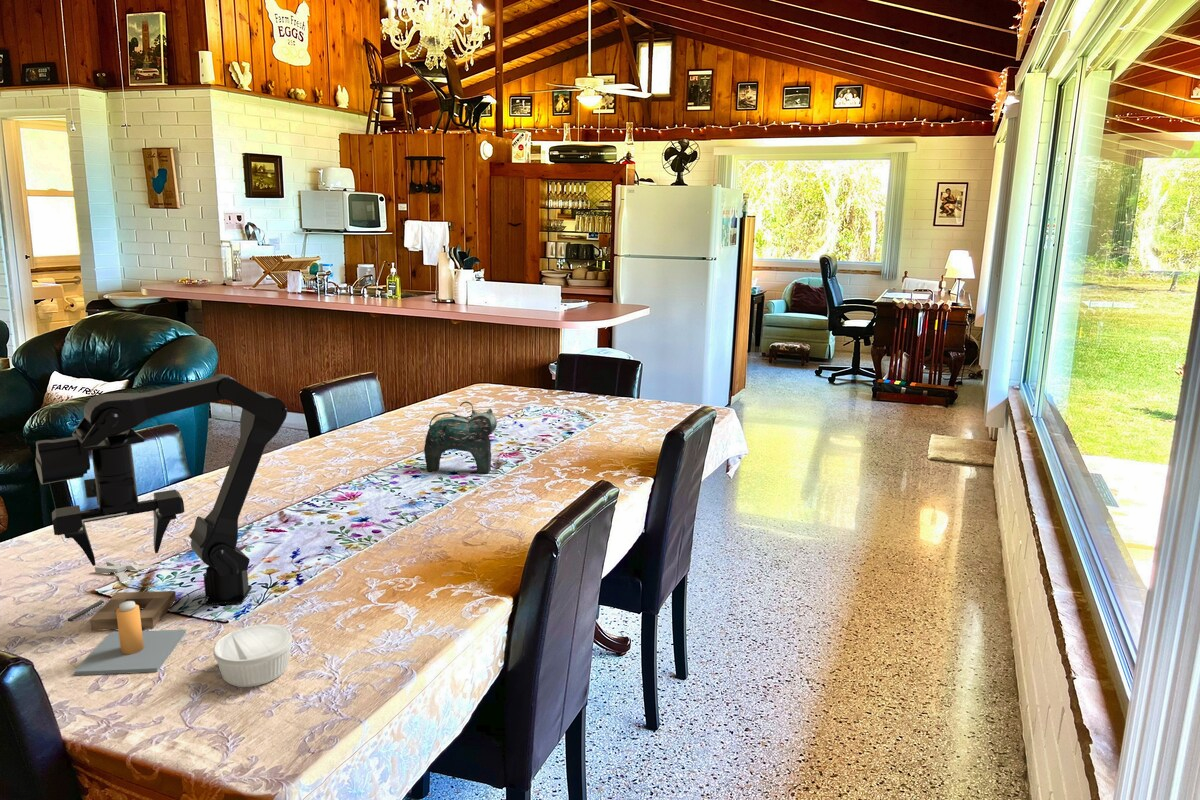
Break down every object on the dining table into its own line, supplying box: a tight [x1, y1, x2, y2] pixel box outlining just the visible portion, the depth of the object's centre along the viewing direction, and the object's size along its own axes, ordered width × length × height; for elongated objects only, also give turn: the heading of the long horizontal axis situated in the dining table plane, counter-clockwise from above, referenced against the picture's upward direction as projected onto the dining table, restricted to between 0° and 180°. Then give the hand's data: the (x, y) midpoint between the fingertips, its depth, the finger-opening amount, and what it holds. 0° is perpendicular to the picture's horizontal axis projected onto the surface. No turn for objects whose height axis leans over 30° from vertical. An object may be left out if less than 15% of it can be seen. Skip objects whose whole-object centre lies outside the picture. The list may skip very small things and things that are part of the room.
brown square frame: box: [89, 590, 177, 631], centre depth 143 cm, size 10×10×2 cm
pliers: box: [94, 560, 159, 584], centre depth 159 cm, size 10×2×15 cm
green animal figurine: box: [423, 400, 498, 475], centre depth 223 cm, size 20×6×20 cm, turn 84°
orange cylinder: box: [116, 601, 144, 655], centre depth 130 cm, size 3×3×8 cm
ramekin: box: [212, 623, 293, 688], centre depth 126 cm, size 11×11×5 cm
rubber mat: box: [73, 629, 187, 676], centre depth 131 cm, size 12×12×1 cm
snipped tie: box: [67, 600, 105, 622], centre depth 144 cm, size 7×1×1 cm, turn 167°
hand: (125, 558), depth 137 cm, fingers open, 9 cm apart
